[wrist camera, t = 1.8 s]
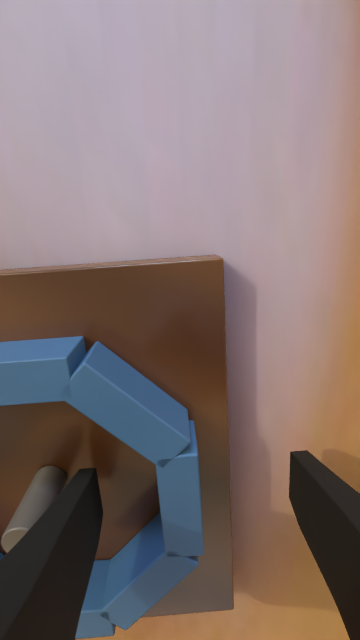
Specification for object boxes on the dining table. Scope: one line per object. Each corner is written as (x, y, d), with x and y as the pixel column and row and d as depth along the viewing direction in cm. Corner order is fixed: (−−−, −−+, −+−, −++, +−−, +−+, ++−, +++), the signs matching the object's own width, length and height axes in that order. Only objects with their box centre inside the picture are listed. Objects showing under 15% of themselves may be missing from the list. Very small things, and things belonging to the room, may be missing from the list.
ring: (203, 575, 14) (209, 628, 12) (-58, 597, 14) (-93, 654, 12) (188, 327, 11) (192, 348, 9) (-146, 352, 11) (-211, 378, 9)
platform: (228, 576, 16) (248, 693, 12) (-52, 600, 16) (-127, 727, 12) (217, 254, 12) (242, 267, 8) (-165, 281, 12) (-340, 308, 8)
